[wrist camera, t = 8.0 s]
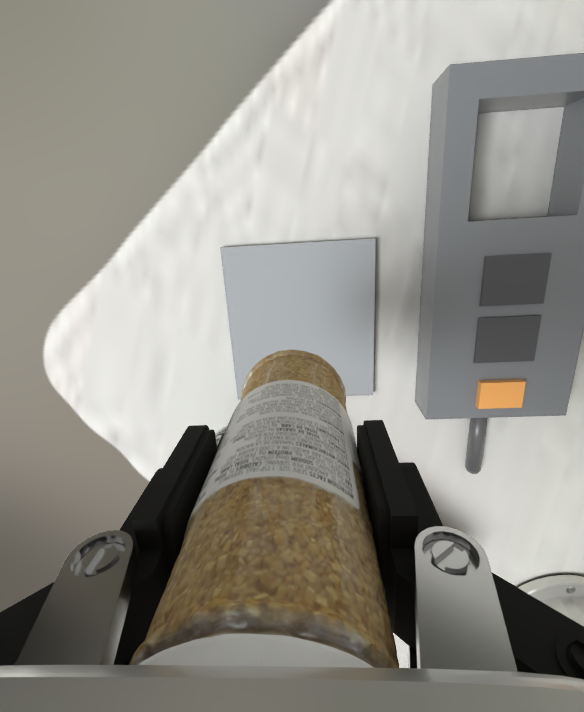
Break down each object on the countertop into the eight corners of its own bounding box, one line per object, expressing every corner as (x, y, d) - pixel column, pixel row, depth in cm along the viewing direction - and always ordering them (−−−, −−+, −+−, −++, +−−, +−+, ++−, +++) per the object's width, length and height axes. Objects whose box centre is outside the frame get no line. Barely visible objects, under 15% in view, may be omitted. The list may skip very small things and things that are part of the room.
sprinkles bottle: (322, 452, 17) (365, 1106, 4) (228, 420, 17) (-22, 1031, 4) (362, 366, 16) (603, 974, 3) (261, 329, 15) (27, 837, 3)
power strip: (529, 466, 32) (554, 494, 28) (411, 469, 32) (422, 496, 29) (599, 70, 22) (649, 43, 19) (432, 84, 23) (453, 60, 20)
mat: (372, 391, 30) (373, 394, 30) (239, 396, 31) (238, 399, 30) (374, 238, 26) (375, 238, 26) (222, 247, 27) (220, 247, 26)
